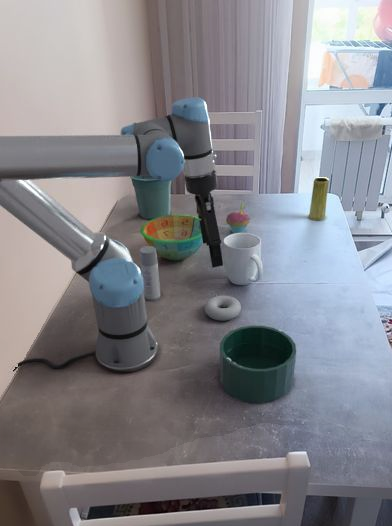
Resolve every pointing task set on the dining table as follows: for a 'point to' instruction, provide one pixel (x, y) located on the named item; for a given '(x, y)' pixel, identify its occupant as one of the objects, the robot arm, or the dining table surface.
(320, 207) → the vase
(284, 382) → the pot
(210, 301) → the donut
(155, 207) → the flower pot
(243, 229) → the cupcake
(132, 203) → the dining table surface
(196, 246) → the bowl
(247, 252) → the mug
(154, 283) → the container
